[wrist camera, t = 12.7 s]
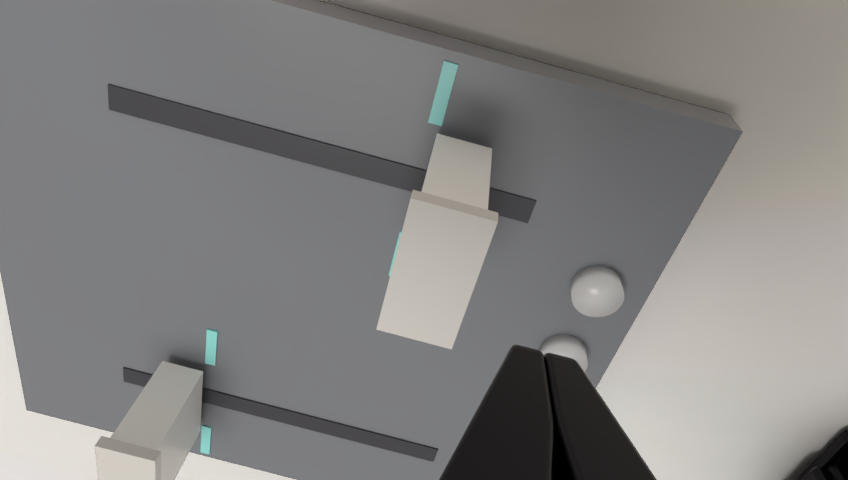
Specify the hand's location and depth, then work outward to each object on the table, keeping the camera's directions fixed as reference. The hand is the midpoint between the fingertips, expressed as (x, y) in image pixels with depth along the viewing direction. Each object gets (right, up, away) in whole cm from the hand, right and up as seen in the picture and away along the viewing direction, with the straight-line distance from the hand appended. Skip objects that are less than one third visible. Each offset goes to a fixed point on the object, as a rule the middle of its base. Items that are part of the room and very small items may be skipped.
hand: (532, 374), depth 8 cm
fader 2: (-1, +3, +10) cm, 11 cm away
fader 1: (-11, -5, +17) cm, 20 cm away
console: (-6, 0, +15) cm, 16 cm away
